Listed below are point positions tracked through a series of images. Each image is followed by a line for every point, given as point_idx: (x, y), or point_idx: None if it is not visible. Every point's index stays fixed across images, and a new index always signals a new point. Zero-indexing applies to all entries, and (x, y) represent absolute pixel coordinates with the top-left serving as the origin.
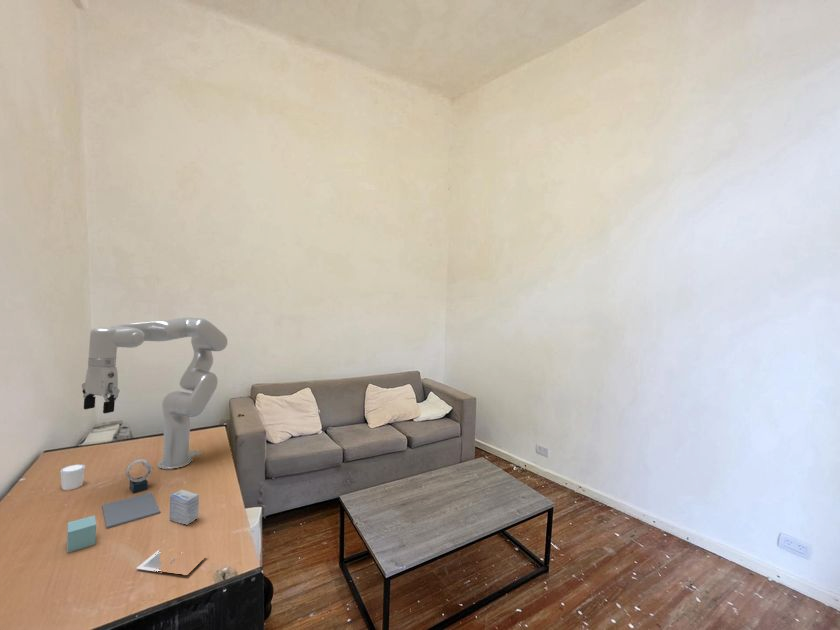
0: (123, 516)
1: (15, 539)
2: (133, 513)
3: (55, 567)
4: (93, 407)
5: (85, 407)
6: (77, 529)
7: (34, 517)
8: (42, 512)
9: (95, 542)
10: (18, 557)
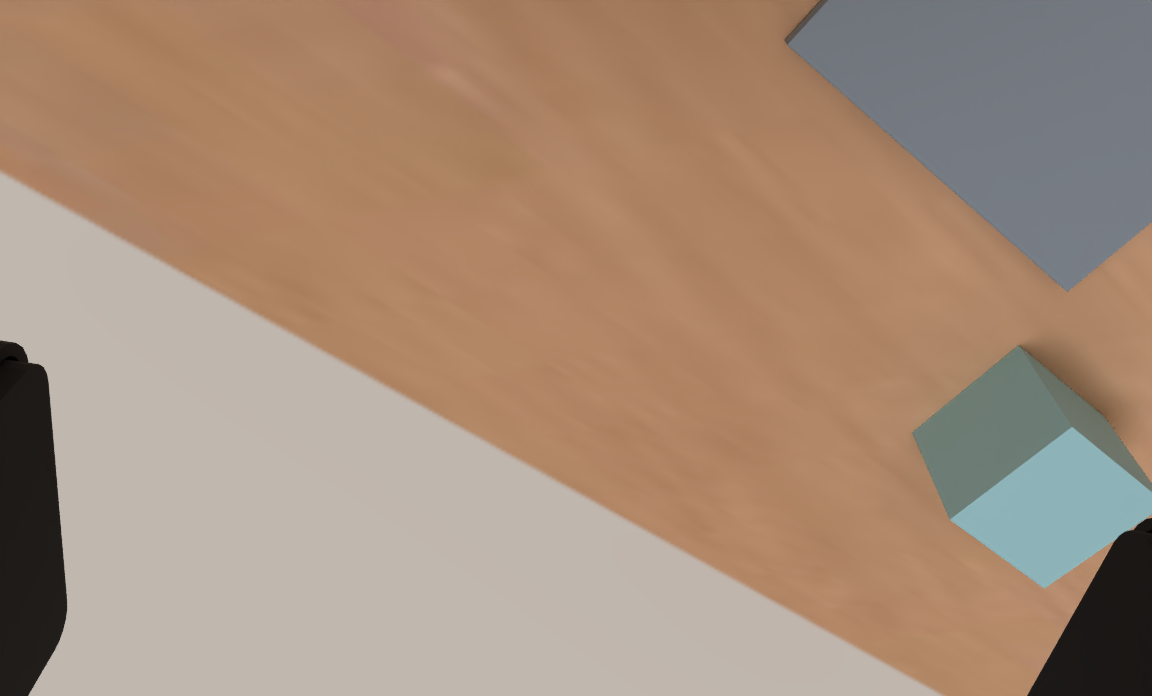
0: (1105, 158)
1: (584, 464)
2: None
3: (1031, 580)
4: (43, 396)
5: (31, 674)
6: (1079, 560)
7: (425, 274)
8: (404, 213)
9: (1108, 423)
10: (770, 560)
